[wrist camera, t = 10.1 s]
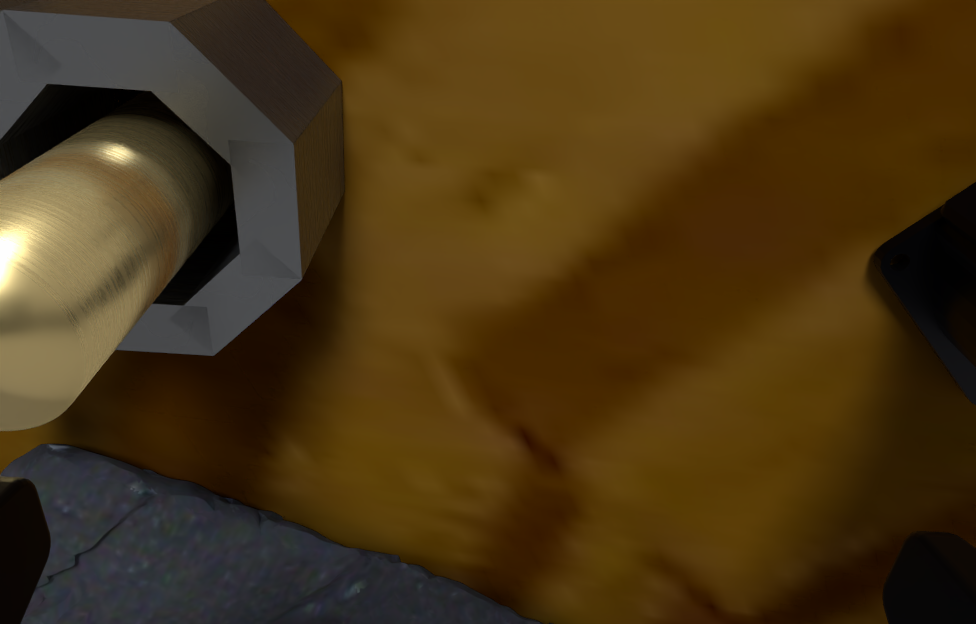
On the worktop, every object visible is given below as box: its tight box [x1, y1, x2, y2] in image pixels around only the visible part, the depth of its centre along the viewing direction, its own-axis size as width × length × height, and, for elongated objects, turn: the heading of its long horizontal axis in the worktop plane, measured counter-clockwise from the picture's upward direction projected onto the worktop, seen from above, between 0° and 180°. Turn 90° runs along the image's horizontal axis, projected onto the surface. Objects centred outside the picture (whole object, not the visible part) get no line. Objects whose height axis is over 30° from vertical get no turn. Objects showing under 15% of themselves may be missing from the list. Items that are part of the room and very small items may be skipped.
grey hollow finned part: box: [0, 0, 345, 356], centre depth 17 cm, size 11×11×5 cm
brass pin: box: [0, 91, 235, 431], centre depth 15 cm, size 3×3×10 cm
